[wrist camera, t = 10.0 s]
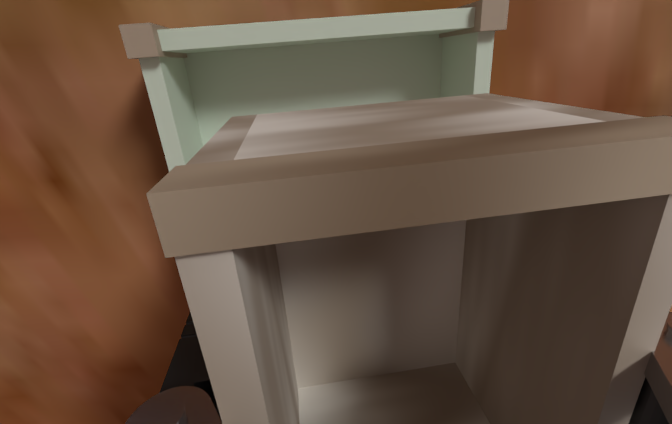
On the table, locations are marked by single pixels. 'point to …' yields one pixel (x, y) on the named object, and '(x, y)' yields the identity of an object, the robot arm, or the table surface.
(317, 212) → the small crate
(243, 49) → the large crate
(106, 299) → the table surface
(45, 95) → the table surface
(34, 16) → the table surface
